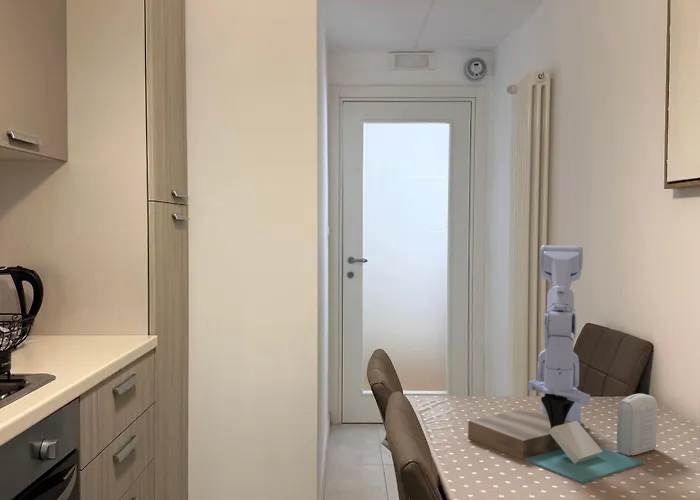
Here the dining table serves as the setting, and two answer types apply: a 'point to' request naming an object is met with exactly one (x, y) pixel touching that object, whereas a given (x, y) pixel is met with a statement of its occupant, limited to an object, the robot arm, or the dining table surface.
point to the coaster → (575, 442)
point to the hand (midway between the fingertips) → (556, 430)
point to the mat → (584, 464)
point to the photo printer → (637, 424)
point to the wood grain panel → (515, 433)
